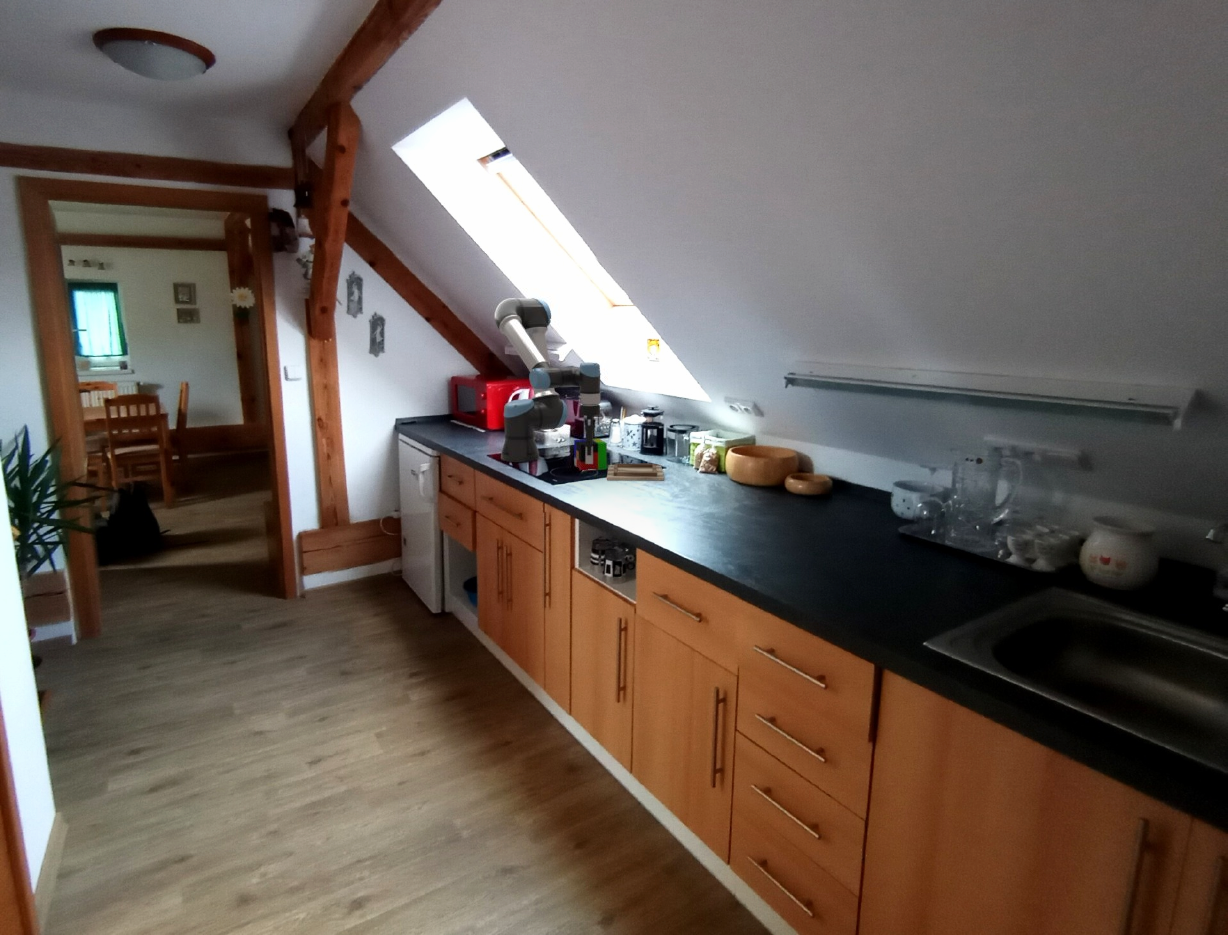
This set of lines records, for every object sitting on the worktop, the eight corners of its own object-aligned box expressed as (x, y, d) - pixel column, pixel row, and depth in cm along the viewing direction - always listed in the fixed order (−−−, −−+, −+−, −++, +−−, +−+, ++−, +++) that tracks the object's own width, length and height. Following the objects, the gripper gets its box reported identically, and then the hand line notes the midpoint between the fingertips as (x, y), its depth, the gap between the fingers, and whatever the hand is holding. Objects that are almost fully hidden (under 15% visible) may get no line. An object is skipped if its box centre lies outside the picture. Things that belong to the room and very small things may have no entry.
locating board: (608, 467, 265) (608, 462, 265) (661, 468, 265) (661, 462, 264) (606, 480, 246) (606, 474, 245) (663, 480, 245) (663, 474, 245)
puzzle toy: (574, 465, 270) (574, 439, 267) (599, 463, 272) (599, 438, 270) (580, 470, 260) (580, 444, 258) (606, 469, 263) (606, 443, 261)
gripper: (582, 400, 273) (582, 453, 278) (577, 408, 249) (578, 466, 254) (601, 400, 273) (601, 453, 278) (598, 409, 249) (598, 467, 253)
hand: (590, 459), depth 266 cm, fingers open, 13 cm apart
